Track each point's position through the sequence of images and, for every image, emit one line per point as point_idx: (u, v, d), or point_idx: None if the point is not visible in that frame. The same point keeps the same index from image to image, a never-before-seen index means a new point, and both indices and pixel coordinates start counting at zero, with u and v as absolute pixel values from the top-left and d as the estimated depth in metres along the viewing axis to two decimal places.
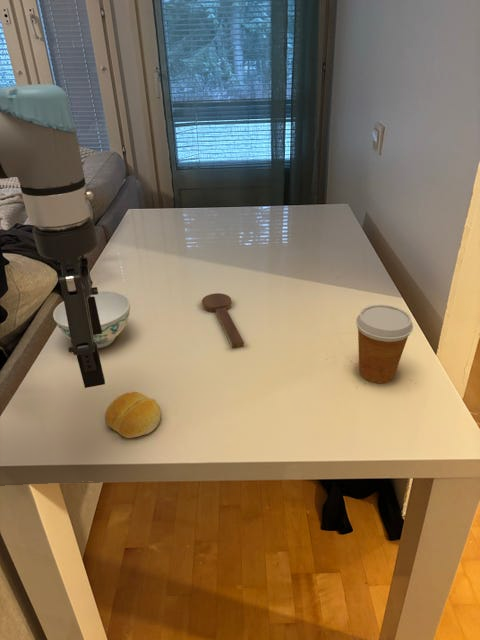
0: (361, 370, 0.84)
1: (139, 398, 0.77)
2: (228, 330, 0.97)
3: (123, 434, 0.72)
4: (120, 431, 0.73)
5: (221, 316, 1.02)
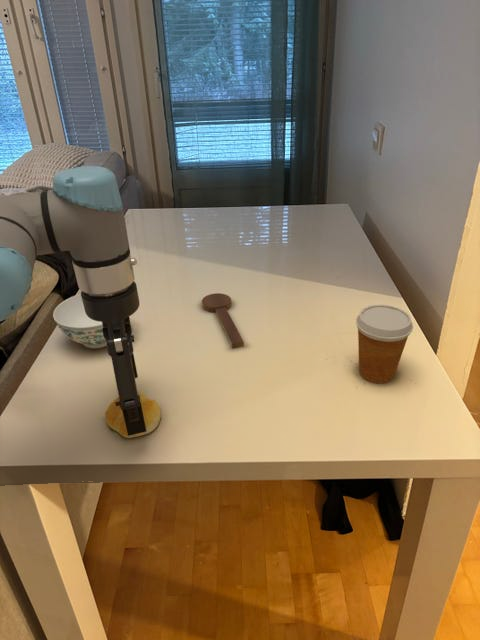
0: (361, 370, 0.84)
1: None
2: (228, 330, 0.97)
3: (123, 434, 0.72)
4: (120, 431, 0.73)
5: (221, 316, 1.02)
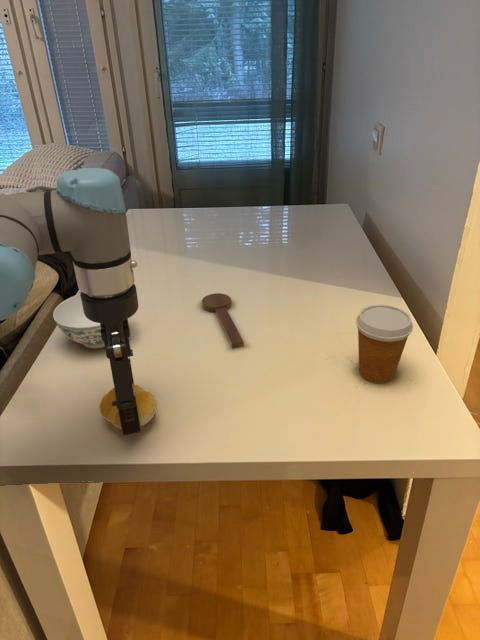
0: (361, 370, 0.84)
1: (135, 389, 0.76)
2: (228, 330, 0.97)
3: (117, 425, 0.71)
4: (114, 423, 0.71)
5: (221, 316, 1.02)
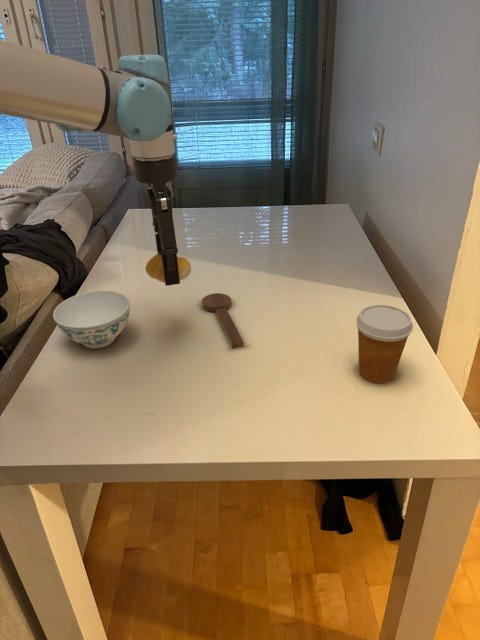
0: (361, 370, 0.84)
1: None
2: (228, 330, 0.97)
3: (161, 278, 0.89)
4: (158, 277, 0.89)
5: (221, 316, 1.02)
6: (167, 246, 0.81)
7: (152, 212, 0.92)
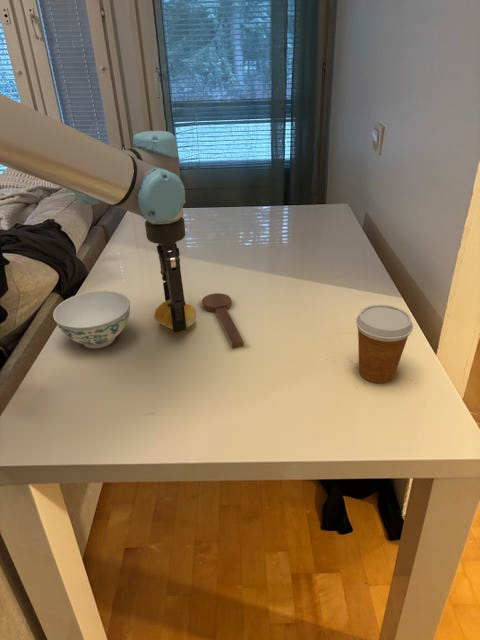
0: (361, 370, 0.84)
1: None
2: (228, 330, 0.97)
3: (169, 325, 0.96)
4: (167, 324, 0.97)
5: (221, 316, 1.02)
6: (176, 300, 0.89)
7: (160, 263, 1.00)
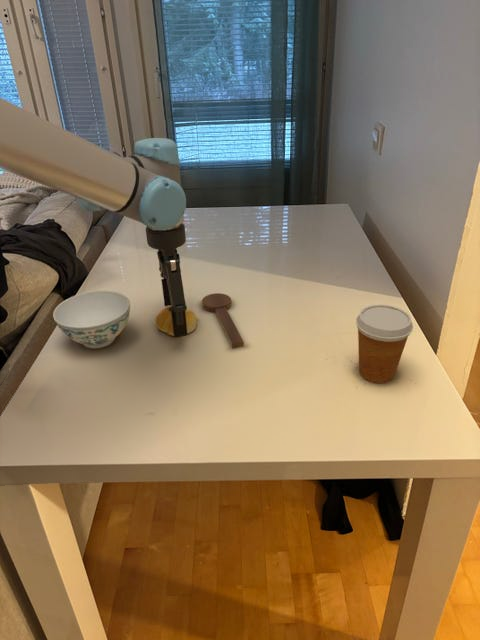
0: (361, 370, 0.84)
1: None
2: (228, 330, 0.97)
3: (170, 332, 0.97)
4: (168, 331, 0.97)
5: (221, 316, 1.02)
6: (176, 303, 0.88)
7: None
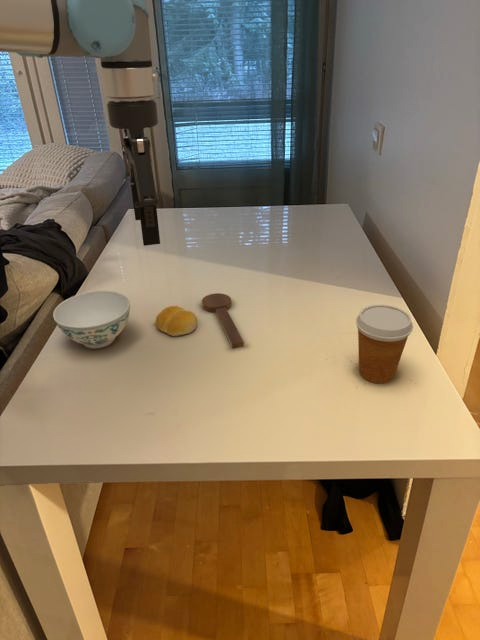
0: (361, 370, 0.84)
1: (181, 309, 1.02)
2: (228, 330, 0.97)
3: (170, 332, 0.97)
4: (168, 331, 0.98)
5: (221, 316, 1.02)
6: (145, 194, 0.70)
7: (128, 162, 0.84)
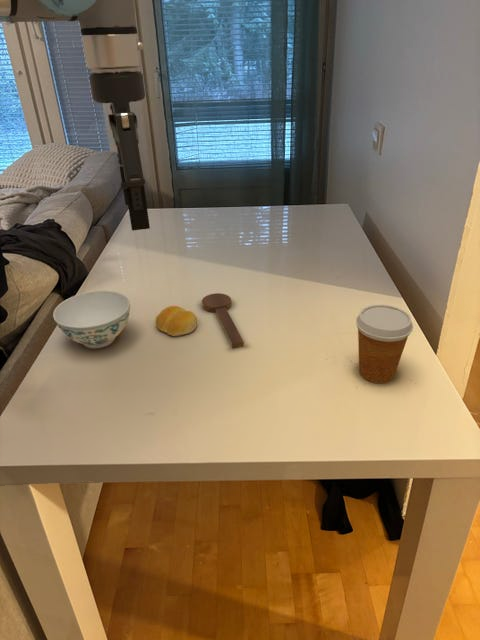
0: (361, 370, 0.84)
1: (181, 309, 1.02)
2: (228, 330, 0.97)
3: (170, 332, 0.97)
4: (168, 331, 0.98)
5: (221, 316, 1.02)
6: (130, 174, 0.65)
7: None
